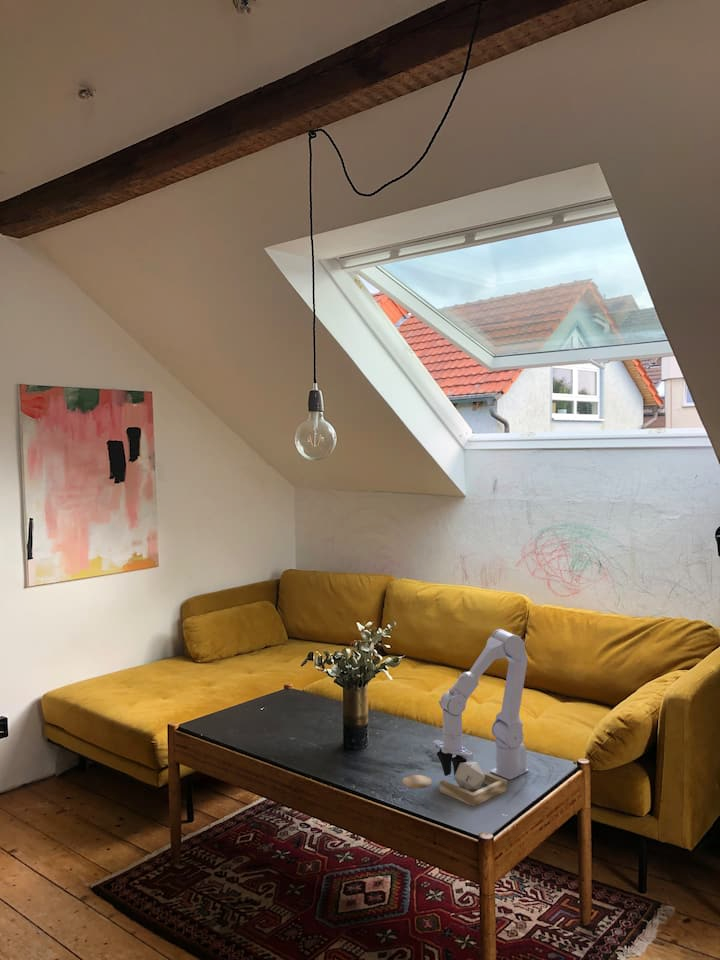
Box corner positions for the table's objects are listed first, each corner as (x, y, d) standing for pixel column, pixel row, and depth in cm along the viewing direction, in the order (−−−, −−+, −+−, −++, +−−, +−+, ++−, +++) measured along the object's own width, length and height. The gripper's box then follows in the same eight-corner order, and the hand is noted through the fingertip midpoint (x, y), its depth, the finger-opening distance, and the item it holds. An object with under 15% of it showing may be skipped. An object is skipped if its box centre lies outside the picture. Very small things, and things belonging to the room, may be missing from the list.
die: (448, 789, 232) (453, 772, 226) (460, 766, 238) (465, 750, 232) (473, 803, 229) (479, 787, 223) (484, 780, 235) (490, 763, 229)
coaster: (416, 774, 243) (416, 772, 243) (437, 783, 237) (437, 781, 237) (396, 782, 238) (396, 781, 238) (417, 792, 231) (417, 790, 231)
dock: (473, 776, 240) (473, 767, 240) (507, 790, 230) (506, 780, 230) (439, 791, 230) (439, 781, 230) (473, 806, 220) (473, 795, 220)
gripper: (425, 729, 238) (426, 773, 239) (461, 742, 227) (461, 788, 228) (441, 724, 243) (442, 766, 243) (477, 736, 232) (477, 781, 232)
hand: (452, 777), depth 236 cm, fingers open, 4 cm apart
